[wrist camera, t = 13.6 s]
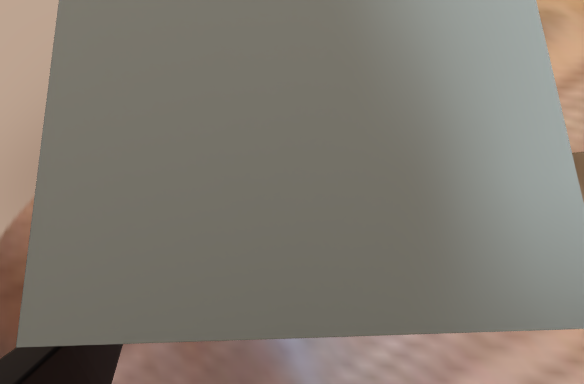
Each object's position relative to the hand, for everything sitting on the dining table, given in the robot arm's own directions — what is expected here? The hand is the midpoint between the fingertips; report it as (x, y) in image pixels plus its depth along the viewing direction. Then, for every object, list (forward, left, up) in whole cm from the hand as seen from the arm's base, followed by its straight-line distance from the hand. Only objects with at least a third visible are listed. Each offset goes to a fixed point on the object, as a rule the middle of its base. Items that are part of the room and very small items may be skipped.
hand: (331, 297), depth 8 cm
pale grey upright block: (+1, +2, -9) cm, 10 cm away
